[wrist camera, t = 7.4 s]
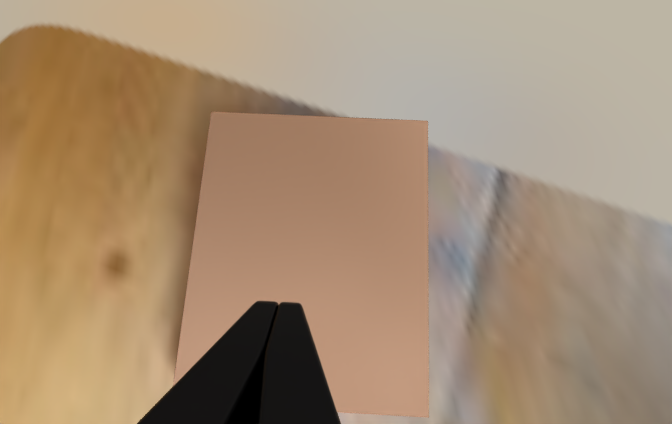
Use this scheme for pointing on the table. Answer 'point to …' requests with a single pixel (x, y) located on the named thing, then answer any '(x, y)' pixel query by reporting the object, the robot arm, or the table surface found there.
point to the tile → (319, 247)
